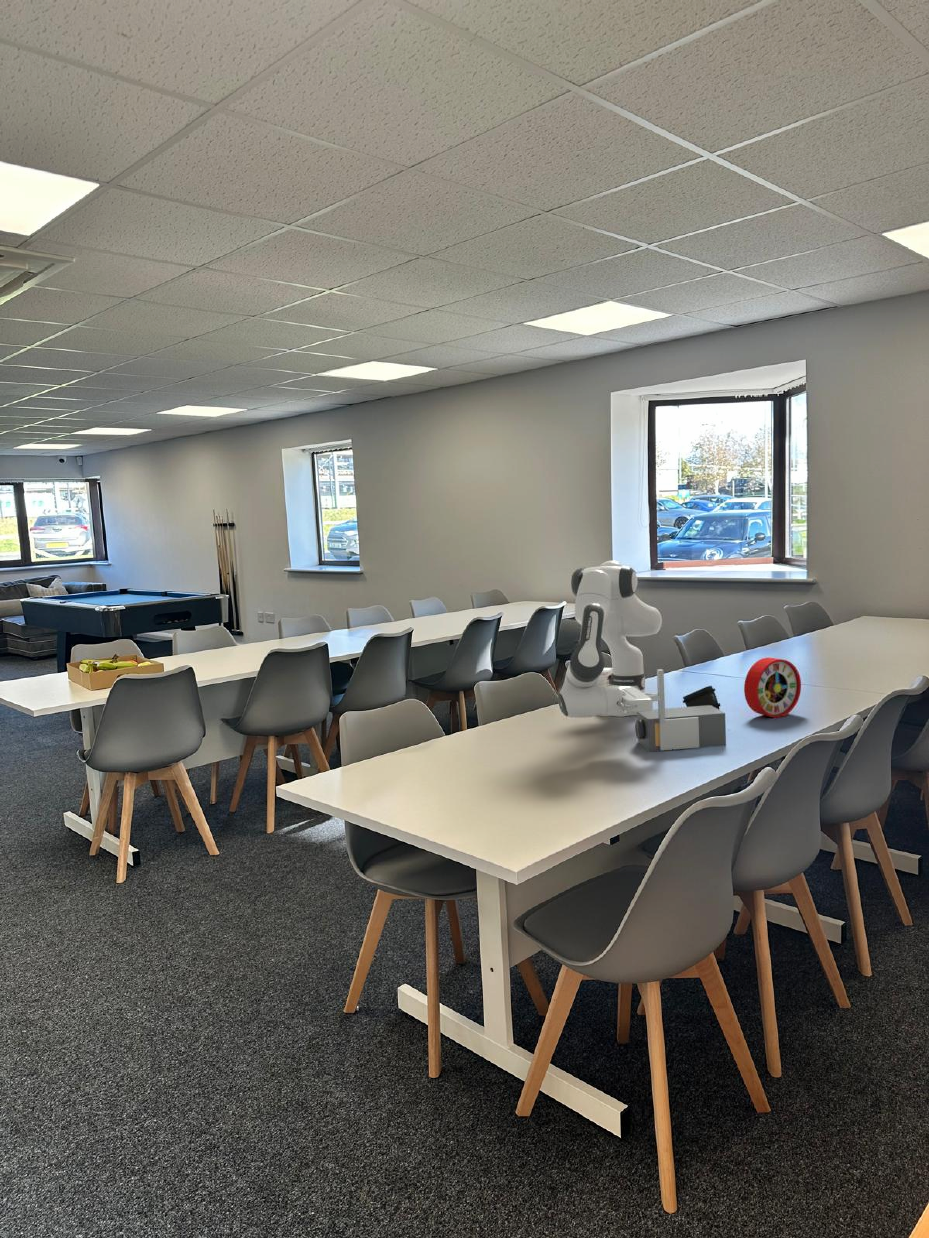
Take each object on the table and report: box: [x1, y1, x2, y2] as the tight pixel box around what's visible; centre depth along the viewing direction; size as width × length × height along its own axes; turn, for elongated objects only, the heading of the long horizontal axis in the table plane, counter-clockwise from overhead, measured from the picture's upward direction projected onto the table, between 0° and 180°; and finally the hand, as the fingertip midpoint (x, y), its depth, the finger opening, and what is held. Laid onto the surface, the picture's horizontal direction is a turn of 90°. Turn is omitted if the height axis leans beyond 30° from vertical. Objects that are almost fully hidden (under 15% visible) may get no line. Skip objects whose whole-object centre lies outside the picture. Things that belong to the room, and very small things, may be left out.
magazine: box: [682, 685, 722, 711], centre depth 278 cm, size 4×13×15 cm, turn 37°
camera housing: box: [634, 705, 727, 752], centre depth 264 cm, size 26×12×10 cm, turn 95°
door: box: [656, 668, 700, 751], centre depth 256 cm, size 12×2×25 cm, turn 95°
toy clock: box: [743, 657, 802, 718], centre depth 292 cm, size 20×6×20 cm, turn 114°
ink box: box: [597, 667, 613, 687], centre depth 339 cm, size 8×8×12 cm
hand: (658, 696), depth 255 cm, fingers closed, pressing on door
